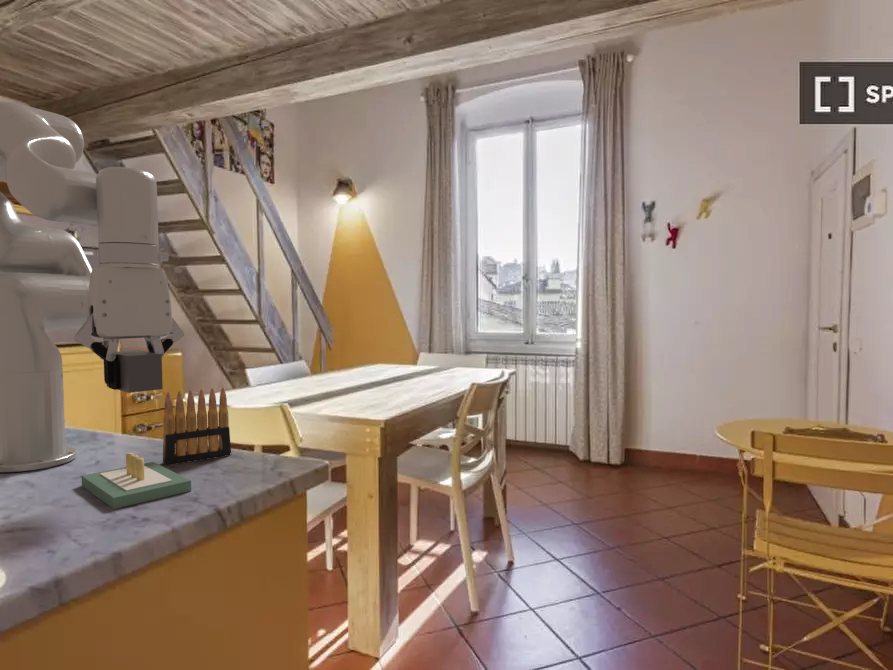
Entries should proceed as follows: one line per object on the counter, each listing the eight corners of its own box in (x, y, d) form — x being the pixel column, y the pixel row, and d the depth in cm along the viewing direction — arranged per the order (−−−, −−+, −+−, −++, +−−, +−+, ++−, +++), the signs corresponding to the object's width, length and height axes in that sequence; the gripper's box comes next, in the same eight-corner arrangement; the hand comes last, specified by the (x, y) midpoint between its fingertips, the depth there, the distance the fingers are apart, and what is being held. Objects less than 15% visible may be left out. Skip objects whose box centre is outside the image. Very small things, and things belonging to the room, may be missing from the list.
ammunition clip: (165, 465, 96) (163, 393, 95) (162, 463, 97) (160, 392, 97) (231, 455, 102) (230, 387, 102) (228, 453, 104) (226, 386, 103)
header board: (81, 485, 85) (80, 454, 85) (153, 471, 93) (152, 442, 92) (114, 509, 76) (112, 473, 75) (191, 490, 83) (190, 458, 83)
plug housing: (106, 386, 85) (105, 352, 84) (138, 383, 88) (137, 350, 88) (128, 392, 79) (127, 356, 78) (162, 389, 82) (161, 353, 82)
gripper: (179, 262, 91) (182, 378, 92) (52, 256, 79) (57, 390, 80) (200, 260, 86) (203, 383, 87) (68, 253, 74) (74, 396, 75)
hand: (133, 385), depth 83 cm, fingers closed on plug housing, 4 cm apart
